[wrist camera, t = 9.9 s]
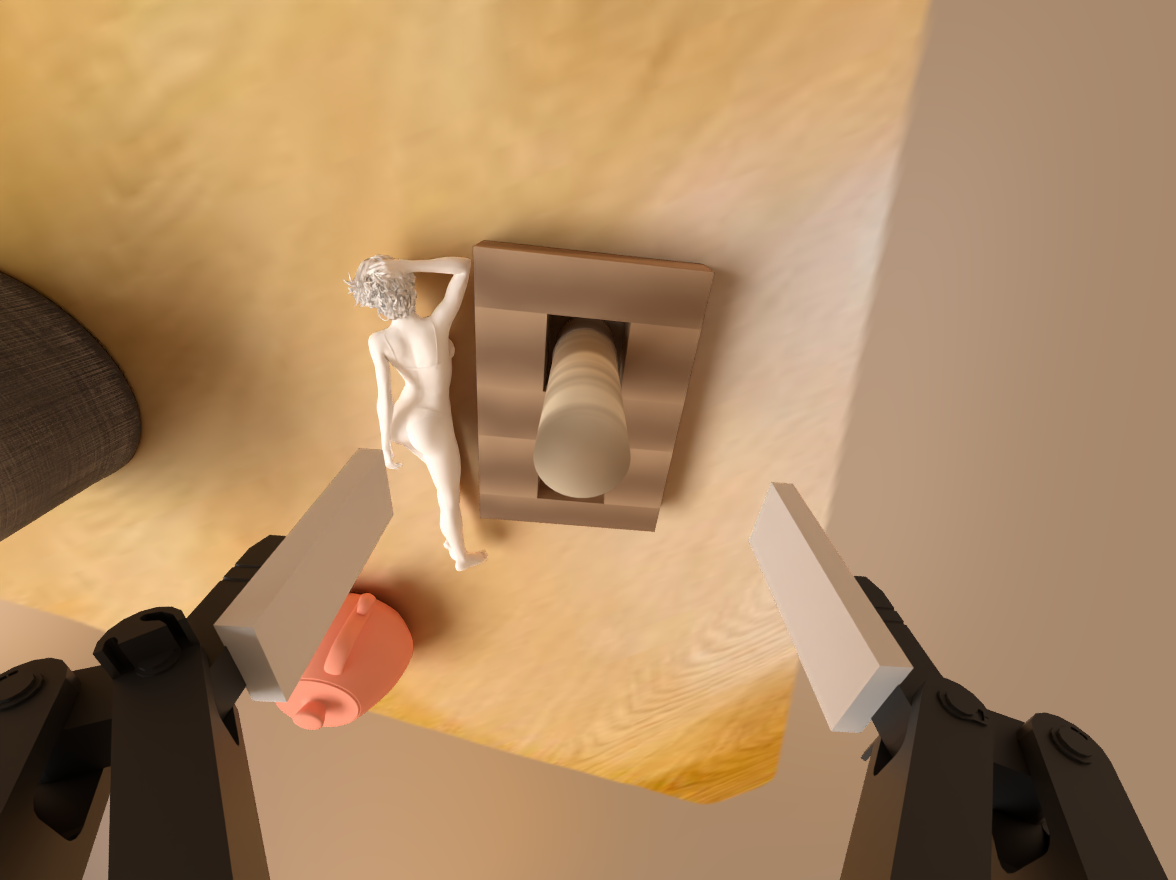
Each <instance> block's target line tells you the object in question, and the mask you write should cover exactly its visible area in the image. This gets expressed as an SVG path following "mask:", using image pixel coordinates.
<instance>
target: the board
mask: <svg viewBox="0 0 1176 880" xmlns="http://www.w3.org/2000/svg"><path fill="white" fill-rule="evenodd" d="M473 261H474V299H475V337H476V374H477V412H478V449H479V487H480V518H489V519H502V520H514V521H527V522H539V523H552V524H564V525H577V526H589V527H602V528H614V529H626V530H639V531H651V532H655V527H656V523H657V519H658V514H659V510H660V506H661V501H662V497H663V493H664V488H665V484H666V480H667V475H668V471H669V467H670V462H671V458H672V454H673V449H674V445H675V441H676V437H677V432H678V428H679V424H680V419H681V415H682V411H683V406H684V402H685V398H686V393H687V389H688V385H689V380H690V376H691V372H692V367H693V363H694V359H695V354H696V350H697V346H698V341H699V337H700V333H701V328H702V324H703V320H704V316H705V311H706V307H707V303H708V298H709V294H710V290H711V285H712V281H713V277H714V272H713V271H712V270H710V269H709V268H708V267H706V266H705V265H703V264H696V263H687V262H678V261H669V260H660V259H650V258H641V257H632V256H623V255H614V254H605V253H596V252H586V251H577V250H568V249H559V248H550V247H541V246H532V245H523V244H513V243H504V242H495V241H486V240H484V241H482V242H480V243H478V244H476V245H474V246H473ZM550 314H552V315H562V316H572V317H581V318H591V319H601V320H611V321H620V322H626V325H625V332H624V339H623V346H622V353H621V360H620V367H619V380H620V386H621V393H622V400H623V406H624V413H625V420H626V427H627V433H628V440H629V447H630V455H631V460H630V466H629V469H628V472H627V474H626V475H625V477H624V479H623V480H622V481H621V482H620V483H619V484H618V485H617V486H616V487H615V488H613V489H612V490H610V491H608V492H607V493H604V494H602V495H599V496H595V497H590V498H575V497H570V496H566V495H563V494H560V493H558V492H556V491H554V490H553V489H551V488H550V487H549V486H547V485H546V484H545V483H544V482H543V481H542V479H541V478H540V477H539V475H538V473H537V471H536V469H535V466H534V461H533V453H534V447H535V442H536V437H537V433H538V428H539V423H540V418H541V414H542V409H543V404H544V399H545V395H546V390H547V385H548V380H549V376H550V375H547V360H548V343H549V325H550Z"/></svg>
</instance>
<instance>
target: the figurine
mask: <svg viewBox="0 0 1176 880" xmlns="http://www.w3.org/2000/svg"><path fill="white" fill-rule="evenodd" d="M470 269H471V260H470V259H469V258H463V257H441V258H436V259H429V260H405V259H403V260H399V259H395V258H393V257H390V256H387V255H375V256H373V257H372V258H368V259H366V260H364V261H362V262H361V263H360V265H359V268H358V270H357V273H356V276H355V278H354V279H353V281H352V280H351V277H350V275H349V279H350V281H352V282H348V281H346V280H344V279H343V280H344V282H345V283H346V284H347V285H350V287H352V288H350V287H349V288H348V289H349V291H350V292H349V293H352V292H353V291H354V292H353V293H355V294H354V295H353V294H352V295H353V296H354V297H353V298H354V299H356V305H357V304H358V303H359V302H360V303H361V305H363V306H365V305H366V306H367V307H368V306H369V307H370V308H374V307H375V306H376V308H377V309H378V315H379V313H381V314H383V313H384V316H386V317H387V318H388V320H389V318H390V319H391V320H392V323H391V325H390V326H389V327H388V328H387V329H383V330H382V331H377V332H375V333H373V334H372V335H371V336H370V337H369V340H368V344H369V350H370V353H371V356H372V359H373V361H374V365H375V371H376V379H377V385H378V401H377V412H378V417H379V423H380V429H381V438H382V450H383V454H384V460H385V466H387V467H388V468H390V469H399V468H398V467H400V466H402V465H401V464H402V463H397V464H395V463H393V460H392V458H394V454H393V452H392V447H391V441H393V442H395V443H397V444H400V445H403V446H405V447H406V448H407V449H409V450H410V451H411V452H413V453H414V454H415V455H416V456H418V457H419V458H420V459H421V460H422V461H424V462H425V463H426V464H427V466H428V469H429V472H430V474H431V477H432V479H433V482H434V484H435V486H436V488H437V490H438V492H437V496H438V502H439V506H440V509H441V515H440V528H441V531H442V533H443V535H444V536H445V537H446V538H447V540H446V541H445V542H444V547H445V548H447V549H448V550H449V553H450V556H451V558H452V559H454V560H455V561H456V566H455V567H456V570H458V571H463V570H465V569H467V568H469V567H471V566H474V565H478V564H481V563H483V562H484V561H486V560H487V556H488V555H487V553H485V552H486V551H485V550H482V551H479V552H475V553H468V552H467V551H466V549H465V545H464V538H463V524H462V517H461V511H460V506H459V503H460V488H459V487H460V477H461V461H460V452H459V448H458V444H457V441H456V438H455V434H454V427H453V421H452V415H451V405H450V399H449V386H450V382H451V376H452V363H451V362H452V359H451V358H452V357H453V356H454V354H455V347H454V344H453V342H452V341H451V340H450V339H449V331H450V327H451V325H452V322H453V320H454V318H455V316H456V315H457V313H458V311H459V308H460V306H461V303H462V300H463V297H464V294H465V290H466V287H467V284H468V279H469V274H470ZM413 272H434V273H445V274H454V275H453V277H452V279H451V281H450V283H449V285H448V287H447V290H446V293H445V296H444V299H443V300H442V302H440V304H439V305H438V306H437V307H436V308H435V309H434V311H433V312H432V314H431V315H430V316H427V317H421V316H419V315H417V314H416V312H415V310H416V309H415V308H416V307H415V305H416V298H417V297H416V293H417V292H416V290H415V286H414V285H413V284H414V283H415V282H416V280H414V279H415V278H417V277H416V275H414V273H413ZM348 274H349V273H348ZM414 276H415V277H414ZM349 293H347V294H349ZM361 301H362V302H361ZM363 303H364V304H363ZM356 305H354V306H356ZM363 306H360V307H363ZM366 306H365V307H366ZM379 309H380V310H379ZM379 317H380V315H379ZM380 318H381V317H380ZM381 319H382V318H381ZM382 320H383V319H382ZM384 321H387V320H384ZM388 361H389V362H390V363H391V364H392V365H393V366H394V367H395V369H397V371H398V372H399V373H400V374H401V376H402V377H403V378H404V380H405V382H406V385H405V387H404V389H403V391H402V393H401V395H400V398H399V399H398V400H397V402H396V403H395V405H393V398H392V391H391V376H390V366H389V363H388Z"/></svg>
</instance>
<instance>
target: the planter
mask: <svg viewBox="0 0 1176 880" xmlns="http://www.w3.org/2000/svg"><path fill="white" fill-rule="evenodd" d="M140 433H141V424H140V416H139V411H138V407H137V404H136V401H135V398H134V396H133V393H132V391H131V389H130V387H129V385H128V383H127V381H126V379H125V378H124V376H123V374H122V373H121V371H120V370H119V368H118V367H117V365H116V364H115V362H114V361H113V360H112V358H111V357H110V356H109V355H108V353H107V352H106V351H105V350H104V349H103V347H102V346H101V345H100V344H99V343H98V342H97V341H96V340H95V339H94V338H93V337H92V335H91V334H89V333H88V332H87V331H86V330H85V329H84V328H83V327H82V326H81V325H80V324H79V323H78V322H77V321H75V320H74V319H73V318H72V317H71V316H70V315H68V314H67V313H66V312H65V311H63V310H62V309H61V308H59V307H58V306H57V305H55V304H54V303H53V302H51V301H50V300H48V299H47V298H45V297H44V296H42V295H41V294H39V293H38V292H36V291H35V290H33V289H31V288H30V287H28V286H26V285H25V284H23V283H21V282H19V281H17V280H15V279H14V278H12V277H10V276H8V275H6V274H3V273H1V272H0V541H2V540H4V539H5V538H7V537H9V536H10V535H12V534H13V533H15V532H17V531H18V530H20V529H21V528H23V527H25V526H26V525H28V524H30V523H31V522H33V521H34V520H36V519H38V518H39V517H41V516H42V515H44V514H46V513H47V512H49V511H50V510H52V509H54V508H55V507H57V506H58V505H60V504H62V503H63V502H65V501H66V500H68V499H70V498H71V497H73V496H75V495H76V494H78V493H80V492H81V491H83V490H84V489H86V488H88V487H89V486H91V485H92V484H94V483H96V482H98V481H99V480H101V479H103V478H105V477H107V476H109V475H111V474H112V473H114V472H116V471H117V470H119V469H120V468H122V467H123V466H124V465H125V464H127V463H128V462H129V460H130V459H131V458H132V457H133V455H134V454H135V452H136V449H137V447H138V444H139V440H140Z"/></svg>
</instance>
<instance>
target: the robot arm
mask: <svg viewBox="0 0 1176 880" xmlns="http://www.w3.org/2000/svg"><path fill="white" fill-rule="evenodd" d="M392 516H393V509H392V502H391V496H390V490H389V484H388V478H387V472H386V466H385V460H384V454H383V450H376V449H364V448H359V449H358V450H357V451H356V453H355V454H354V455H353V456H352V457H351V459H350V460H349V461H348V462H347V463H346V465H345V466H344V467H343V468H342V469H341V471H340V472H339V473H338V474H337V476H336V477H335V478H334V479H333V480H332V482H331V483H330V484H329V485H328V486H327V488H326V489H325V490H324V491H323V493H322V494H321V495H320V496H319V497H318V499H317V500H316V501H315V502H314V503H313V505H312V506H311V507H310V508H309V510H308V511H307V512H306V513H305V514H304V516H303V517H302V518H301V519H300V520H299V522H298V523H297V524H296V525H295V527H294V528H293V529H292V530H291V531H290V533H289V534H288V535H287V536H277V535H269V536H267V537H266V538H264V539H263V540H261V541H260V542H258V543H257V544H255V545H254V546H252V547H251V548H249V549H248V550H247V551H246V553H245V554H244V555H243V556H242V557H241V558H240V559H239V560H238V562H237V563H236V564H235V567H232V568H231V569H230V570H229V572H228V573H227V574H226V575H225V576H224V577H223V580H222V581H220V582H219V583H218V584H217V585H216V586H215V587H214V588H213V589H212V591H211V592H210V593H209V594H208V595H207V596H206V597H205V598H204V599H203V601H202V602H201V603H200V604H199V605H198V606H197V607H196V608H195V609H194V611H193V612H192V613H191V614H190V615H189V616H188V617H187V618H185V616H184V614H183V612H182V611H181V610H179V609H176V608H174V607H156V608H152V609H148V610H144V611H141V612H138V613H136V614H134V615H132V616H130V617H128V618H126V619H123V620H122V621H121V622H119V623H118V624H116V625H115V626H114V627H112V628H111V629H109V630H108V631H107V632H106V633H105V634H104V635H103V637H102V638H101V639H100V640H99V641H98V642H97V644H96V647H95V649H94V652H93V655H94V656H95V658H96V659H97V660H98V661H99V663H100V664H101V665H100V666H95V667H90V668H85V669H80V670H75V671H71V670H70V669H69V667H68V666H67V665H66V664H65V663H64V662H63V660H59V659H54V658H45V659H39V660H33V661H30V662H27V663H24V664H22V665H19V666H16V667H14V668H11V669H10V670H8V671H6V672H4V673H2V674H0V880H82V878H83V875H84V872H85V869H86V866H87V862H88V859H89V856H90V853H91V850H92V847H93V844H94V841H95V838H96V835H97V832H98V828H99V825H100V822H101V819H102V816H103V813H104V810H105V807H106V804H107V801H108V798H109V795H110V828H109V829H110V830H109V871H108V880H270V876H269V871H268V867H267V861H266V856H265V851H264V845H263V840H262V834H261V829H260V824H259V819H258V813H257V808H256V803H255V797H254V792H253V787H252V781H251V776H250V771H249V766H248V760H247V755H246V750H245V744H244V740H243V734H242V729H241V723H240V718H239V713H238V709H237V708H236V706H235V702H236V700H237V699H238V697H239V696H240V694H241V693H242V691H243V690H244V688H245V687H246V688H247V690H248V692H249V694H250V696H251V698H252V700H253V701H268V702H288V700H289V698H290V696H291V694H292V693H293V691H294V689H295V687H296V686H297V684H298V682H299V680H300V679H301V677H302V675H303V673H304V671H305V670H306V668H307V666H308V664H309V663H310V661H311V659H312V657H313V656H314V654H315V652H316V650H317V648H318V647H319V645H320V643H321V641H322V640H323V638H324V636H325V634H326V633H327V631H328V629H329V627H330V626H331V624H332V622H333V620H334V618H335V617H336V615H337V613H338V611H339V610H340V608H341V606H342V604H343V603H344V601H345V599H346V597H347V595H348V594H349V592H350V590H351V588H352V587H353V585H354V583H355V581H356V580H357V578H358V576H359V574H360V572H361V571H362V569H363V567H364V565H365V564H366V562H367V560H368V558H369V557H370V555H371V553H372V551H373V549H374V548H375V546H376V544H377V542H378V541H379V539H380V537H381V535H382V534H383V532H384V530H385V528H386V526H387V525H388V523H389V521H390V519H391V518H392ZM749 543H750V546H751V548H752V550H753V553H754V555H755V557H756V559H757V562H758V564H759V566H760V569H761V571H762V573H763V576H764V578H765V580H766V582H767V585H768V587H769V589H770V592H771V594H772V596H773V599H774V601H775V603H776V605H777V608H778V610H779V612H780V615H781V617H782V619H783V622H784V624H785V626H786V628H787V631H788V633H789V635H790V638H791V640H792V642H793V645H794V647H795V649H796V651H797V654H798V656H799V658H800V661H801V663H802V665H803V667H804V670H805V672H806V674H807V677H808V679H809V681H810V684H811V686H812V688H813V690H814V693H815V695H816V697H817V700H818V702H819V704H820V706H821V709H822V711H823V713H824V716H825V718H826V720H827V723H828V725H829V727H830V730H831V731H838V732H858V733H861V732H862V731H863V729H864V728H865V727H866V726H867V724H868V723H869V722H870V721H871V720H872V721H873V723H874V725H875V727H876V729H877V731H878V733H879V736H878V737H877V738H876V739H875V740H874V742H873V743H872V744H871V745H870V746H869V747H868V749H867V750H866V751H865V752H864V754H863V755H862V757H861V758H862V759H863V760H864V761H866V760H867V759H868V758H869V757H870V756H871V757H870V761H869V765H868V769H867V773H866V777H865V781H864V785H863V789H862V793H861V797H860V801H859V805H858V809H857V813H856V817H855V821H854V825H853V829H852V833H851V837H850V841H849V845H848V849H847V853H846V858H845V862H844V865H843V870H842V873H841V878H840V880H1168V878H1167V876H1166V874H1165V872H1164V870H1163V868H1162V866H1161V864H1160V862H1159V860H1158V858H1157V856H1156V854H1155V852H1154V850H1153V848H1152V845H1151V843H1150V841H1149V840H1148V837H1147V835H1146V833H1145V831H1144V829H1143V827H1142V825H1141V823H1140V821H1139V819H1138V817H1137V815H1136V813H1135V810H1134V809H1133V806H1132V804H1131V802H1130V800H1129V798H1128V796H1127V794H1126V792H1125V790H1124V788H1123V786H1122V784H1121V782H1120V780H1119V778H1118V776H1117V774H1116V771H1115V769H1114V767H1113V765H1112V763H1111V761H1110V760H1109V758H1108V757H1107V755H1106V754H1105V753H1104V751H1103V750H1102V749H1101V747H1100V746H1099V745H1098V744H1097V743H1096V742H1095V741H1094V740H1092V738H1091V737H1090V736H1089V735H1087V734H1086V733H1085V732H1083V731H1082V730H1081V729H1079V728H1078V727H1077V726H1075V725H1074V724H1072V723H1070V722H1068V721H1066V720H1064V719H1063V718H1061V717H1059V716H1055V715H1052V714H1048V713H1036V714H1035V715H1034V716H1033V717H1031V718H1030V719H1029V720H1028V721H1027V722H1026V723H1024V722H1022V721H1019V720H1016V719H1013V718H1010V717H1007V716H1004V715H1002V714H999V713H996V712H993V711H990V710H987V709H986V708H985V706H984V704H982V702H981V701H979V699H977V697H976V696H974V694H973V693H971V692H970V691H968V690H967V689H966V688H964V687H963V686H961V685H960V684H958V683H956V682H953V681H951V680H949V679H946V678H943V677H942V675H941V674H940V673H939V671H938V670H937V668H936V667H935V666H934V664H933V663H932V661H931V660H930V659H929V657H928V656H927V654H926V653H925V651H924V650H923V648H922V647H921V646H920V644H919V643H918V641H917V640H916V638H915V637H914V636H913V634H912V633H911V631H910V630H909V628H908V627H907V626H906V625H904V624H903V622H904V621H903V620H902V618H901V617H900V616H899V614H898V613H897V611H894V607H893V606H892V604H891V603H890V602H889V600H888V599H887V597H886V596H885V594H884V593H883V591H881V590H880V589H879V588H878V587H877V586H876V585H875V584H873V583H872V582H871V581H870V580H869V579H868V578H867V577H862V576H853V575H852V573H851V572H850V570H849V569H848V567H847V566H846V564H845V562H844V561H843V560H842V558H841V556H840V555H839V553H838V552H837V550H836V549H835V548H834V546H833V544H832V543H831V541H830V540H829V538H828V537H827V535H826V534H825V532H824V530H823V529H822V527H821V526H820V524H819V523H818V521H817V520H816V518H815V517H814V515H813V514H812V512H811V511H810V509H809V508H808V506H807V505H806V503H805V502H804V500H803V498H802V497H801V495H800V494H799V492H798V491H797V489H796V488H795V486H794V485H793V484H787V483H775V482H771V484H770V487H769V490H768V492H767V495H766V497H765V500H764V502H763V505H762V508H761V510H760V513H759V515H758V518H757V520H756V523H755V525H754V528H753V531H752V533H751V536H750V538H749Z"/></svg>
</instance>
